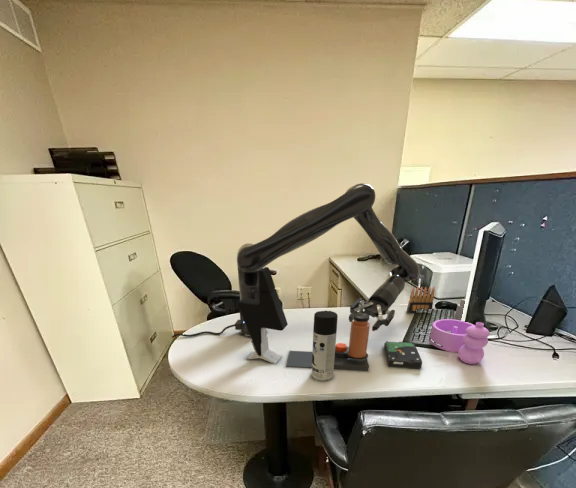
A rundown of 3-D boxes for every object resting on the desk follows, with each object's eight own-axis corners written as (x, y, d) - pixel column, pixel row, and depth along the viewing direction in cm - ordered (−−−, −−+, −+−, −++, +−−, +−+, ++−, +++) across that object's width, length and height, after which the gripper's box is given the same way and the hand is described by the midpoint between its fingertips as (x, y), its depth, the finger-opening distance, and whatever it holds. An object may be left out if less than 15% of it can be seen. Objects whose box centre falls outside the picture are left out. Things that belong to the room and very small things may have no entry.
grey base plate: (323, 369, 104) (323, 359, 102) (324, 353, 114) (324, 344, 112) (368, 371, 103) (369, 361, 101) (364, 355, 112) (366, 345, 111)
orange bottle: (348, 357, 102) (352, 318, 96) (347, 349, 107) (351, 312, 101) (366, 358, 102) (371, 319, 95) (365, 350, 107) (369, 312, 100)
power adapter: (468, 323, 136) (476, 295, 131) (455, 322, 137) (462, 295, 131) (466, 320, 139) (474, 293, 133) (453, 320, 140) (460, 292, 134)
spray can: (310, 370, 103) (311, 310, 93) (331, 369, 104) (335, 309, 94) (313, 381, 97) (315, 318, 88) (335, 380, 98) (340, 317, 88)
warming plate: (346, 359, 102) (346, 358, 102) (345, 350, 108) (346, 349, 108) (368, 360, 101) (368, 359, 101) (366, 351, 107) (366, 349, 107)
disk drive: (421, 369, 103) (412, 348, 116) (423, 362, 102) (414, 341, 115) (388, 367, 105) (383, 347, 117) (389, 360, 103) (384, 340, 116)
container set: (423, 334, 127) (430, 301, 120) (462, 334, 127) (472, 301, 120) (450, 366, 105) (460, 328, 99) (498, 366, 105) (511, 328, 98)
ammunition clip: (429, 311, 149) (435, 285, 143) (431, 313, 147) (437, 287, 142) (406, 311, 149) (411, 285, 143) (407, 313, 148) (412, 287, 142)
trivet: (286, 367, 105) (286, 365, 105) (290, 351, 115) (290, 350, 115) (320, 368, 104) (320, 367, 104) (321, 353, 114) (321, 352, 113)
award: (288, 357, 111) (287, 268, 96) (283, 365, 107) (281, 272, 92) (247, 351, 115) (241, 264, 100) (241, 358, 111) (233, 268, 96)
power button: (335, 352, 107) (335, 347, 107) (335, 347, 111) (335, 342, 110) (346, 352, 107) (347, 347, 106) (346, 347, 110) (346, 343, 109)
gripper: (366, 282, 115) (342, 308, 108) (405, 294, 109) (382, 323, 101) (365, 299, 121) (342, 325, 113) (401, 312, 114) (380, 340, 107)
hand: (361, 324), depth 107 cm, fingers open, 8 cm apart
